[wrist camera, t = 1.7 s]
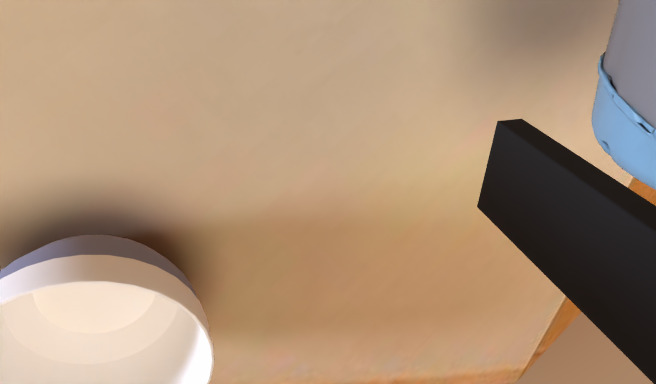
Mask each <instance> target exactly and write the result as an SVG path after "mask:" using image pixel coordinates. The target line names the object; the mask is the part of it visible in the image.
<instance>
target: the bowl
mask: <svg viewBox="0 0 656 384" xmlns="http://www.w3.org/2000/svg"><path fill="white" fill-rule="evenodd" d="M214 361H215V358H214V347H213V341H212V337H211V333H210V329H209V325H208V321H207V318H206V315H205V313H204V310H203V308H202V305H201V303H200V302H199V300H198V298H197V296H196V293H195V291H194V289H193V287H192V285H191V283H190V282H189V281H188V279H187V278H186V276H185V275H184V274H183V272H182V271H181V270H180V269H178V268H177V267H176V266H175V265H174V264H173V263H172V262H170V261H169V260H168V259H166V258H165V257H163V256H162V255H161V254H159V253H158V252H156V251H154V250H153V249H151V248H149V247H147V246H145V245H144V244H142V243H139V242H136V241H133V240H130V239H127V238H123V237H117V236H111V235H82V236H74V237H68V238H65V239H61V240H58V241H54V242H51V243H49V244H47V245H45V246H43V247H41V248H39V249H37V250H34V251H32V252H30V253H28V254H26V255H24V256H22V257H20V258H18V259H16V260H15V261H13V262H12V263H10V264H9V265H8V266H6V267H5V268H3V269H2V270H1V271H0V384H209V381H210V379H211V377H212V372H213V366H214Z"/></svg>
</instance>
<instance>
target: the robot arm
mask: <svg viewBox="0 0 656 384" xmlns="http://www.w3.org/2000/svg"><path fill="white" fill-rule="evenodd" d="M598 73H599V81H598V86H597V91H596V96H595V101H594V106H593V111H592V127H593V131H594V134H595V137H596V139H597V141H598V143H599V144H600V145H601V146H602V148H603V150H604V151H605V152H606V153H608V154H609V155H610V156H611V157H612V159H613V160H614V162H615V163H616V164H617V165H619V166H620V167H621V168H622V169H624V170H625V171H626V172H628V173H629V174H630V175H632V176H633V177H635V178H636V179H638V180H640V181H641V182H643V183H645V184H646V185H648V186H650V187H652V188H654V189H655V190H656V0H620V1H619V5H618V8H617V12H616V16H615V19H614V23H613V27H612V31H611V34H610V38H609V42H608V45H607V49H606V52H605V53H604V54H603V55H601V57H600V60H599V63H598ZM477 207H478V208H479V209H480V210H481V211H482V212H483V213H484V214H485V215H486V216H487V217H488V218H489V219H490V220H491V221H492V222H493V223H494V224H495V225H496V226H497V227H498V228H499V229H500V230H501V231H502V232H503V233H504V234H505V235H506V236H507V237H508V238H509V239H510V240H511V241H512V242H513V243H514V244H515V245H516V246H517V247H518V248H519V249H520V250H521V251H522V252H523V253H524V254H525V255H526V256H527V257H528V258H529V259H530V260H531V261H532V262H533V263H534V264H535V265H536V266H537V267H538V268H539V269H540V270H541V271H542V272H543V273H544V274H545V275H546V276H547V277H548V278H549V279H550V280H551V281H552V282H553V283H554V284H555V285H556V286H557V287H558V288H559V289H560V290H561V291H562V292H563V293H564V294H565V295H566V296H567V297H568V298H569V299H570V300H571V301H572V302H573V303H574V304H575V305H576V306H577V307H578V308H579V309H580V310H581V311H582V312H583V313H584V314H585V315H586V316H587V317H588V318H589V319H590V320H591V321H592V322H593V323H594V324H595V325H596V326H597V327H598V328H599V329H600V330H601V331H602V332H603V333H604V334H605V335H606V336H607V337H608V338H609V339H610V340H611V341H612V342H613V343H614V344H615V345H616V346H617V347H618V348H619V349H620V350H621V351H622V352H623V353H624V354H625V355H626V356H627V357H628V358H629V359H630V360H631V361H632V362H633V363H634V364H635V365H636V366H637V367H638V368H639V369H640V370H641V371H642V372H643V373H644V374H645V375H646V376H647V377H648V378H649V379H650V380H651V381H652V382H653V383H654V384H656V206H655V205H653V204H652V203H650V202H649V201H647V200H646V199H644V198H642V197H641V196H639V195H638V194H636V193H635V192H633V191H632V190H630V189H629V188H627V187H626V186H624V185H623V184H621V183H619V182H618V181H616V180H615V179H613V178H612V177H610V176H609V175H607V174H606V173H604V172H603V171H601V170H599V169H598V168H596V167H595V166H593V165H592V164H590V163H589V162H587V161H586V160H584V159H583V158H581V157H580V156H578V155H576V154H575V153H573V152H572V151H570V150H569V149H567V148H566V147H564V146H563V145H561V144H560V143H558V142H556V141H555V140H553V139H552V138H550V137H549V136H547V135H546V134H544V133H543V132H541V131H540V130H538V129H537V128H535V127H533V126H532V125H530V124H529V123H527V122H526V121H524V120H523V119H515V120H505V121H498V122H497V126H496V130H495V134H494V138H493V143H492V147H491V151H490V155H489V159H488V164H487V168H486V172H485V176H484V180H483V184H482V189H481V193H480V197H479V201H478V205H477Z"/></svg>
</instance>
